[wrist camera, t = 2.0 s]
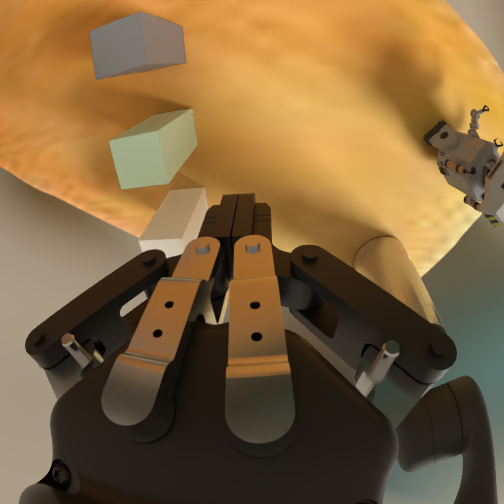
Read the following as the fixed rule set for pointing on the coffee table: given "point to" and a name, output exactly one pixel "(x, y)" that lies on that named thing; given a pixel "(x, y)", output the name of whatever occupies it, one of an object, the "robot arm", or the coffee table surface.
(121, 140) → the sage green pillar
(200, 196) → the off white pillar
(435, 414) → the robot arm
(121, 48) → the slate grey pillar
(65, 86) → the coffee table surface
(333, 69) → the coffee table surface
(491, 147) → the figurine
